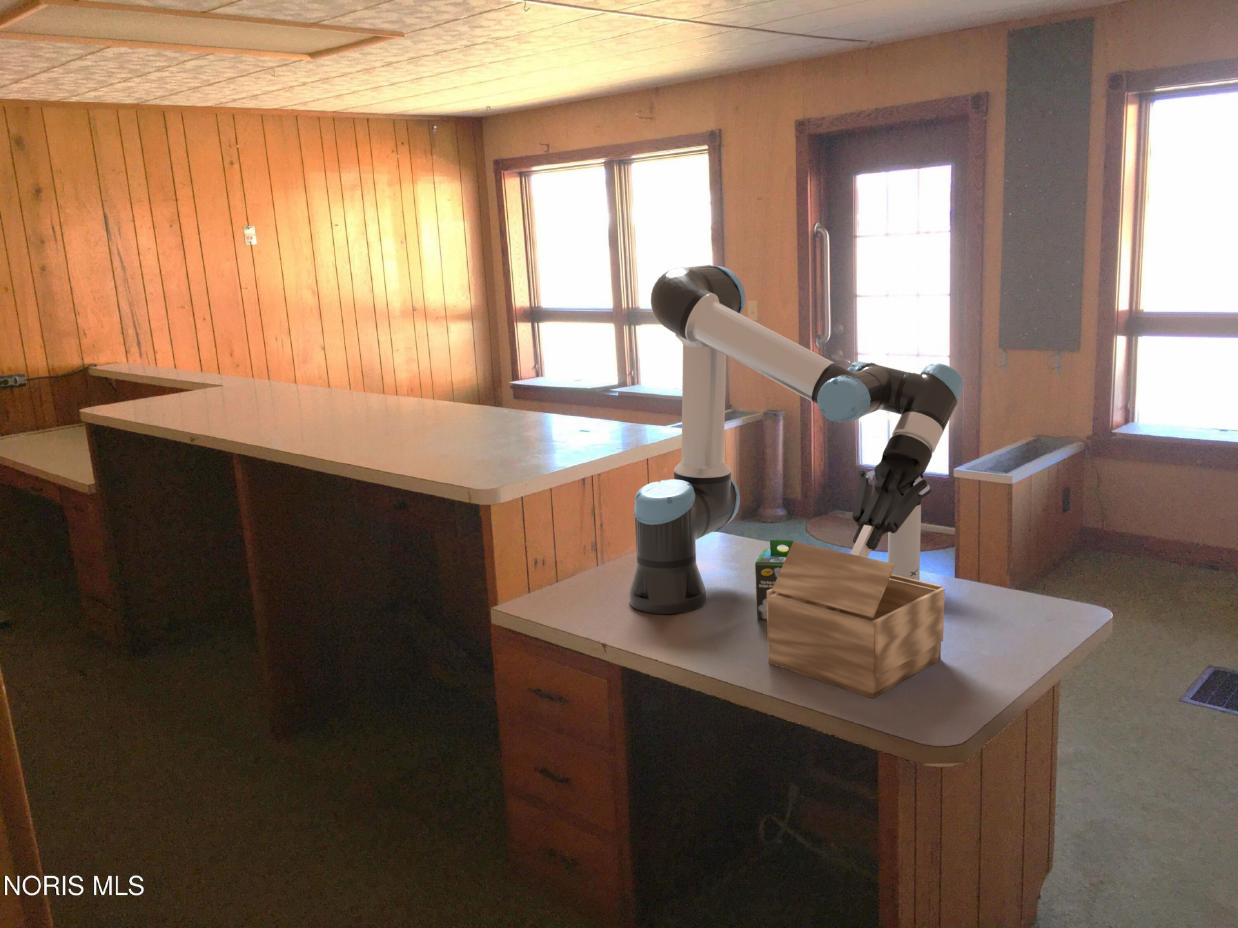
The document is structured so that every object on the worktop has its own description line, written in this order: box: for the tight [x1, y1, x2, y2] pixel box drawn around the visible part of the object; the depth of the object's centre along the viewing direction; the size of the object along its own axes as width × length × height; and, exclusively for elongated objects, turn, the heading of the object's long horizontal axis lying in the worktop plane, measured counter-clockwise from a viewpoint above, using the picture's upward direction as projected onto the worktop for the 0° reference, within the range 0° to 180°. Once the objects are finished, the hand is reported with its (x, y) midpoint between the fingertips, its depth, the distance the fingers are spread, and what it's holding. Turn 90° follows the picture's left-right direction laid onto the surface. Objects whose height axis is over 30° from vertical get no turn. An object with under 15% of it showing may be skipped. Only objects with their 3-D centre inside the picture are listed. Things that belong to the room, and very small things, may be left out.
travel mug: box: [887, 490, 922, 580], centre depth 201 cm, size 6×7×20 cm
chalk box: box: [754, 539, 794, 621], centre depth 187 cm, size 9×9×15 cm
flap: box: [772, 540, 895, 618], centre depth 158 cm, size 1×19×9 cm
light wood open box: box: [766, 574, 946, 699], centre depth 164 cm, size 21×21×12 cm
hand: (855, 563), depth 161 cm, fingers closed
